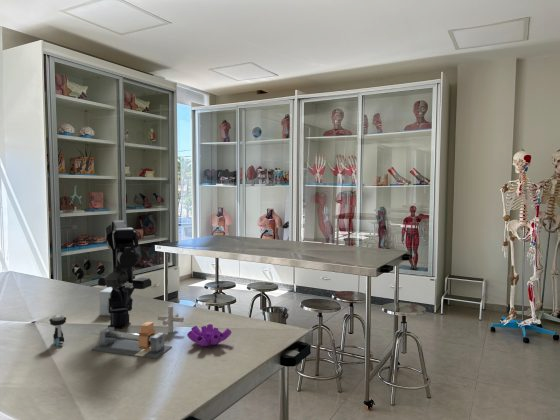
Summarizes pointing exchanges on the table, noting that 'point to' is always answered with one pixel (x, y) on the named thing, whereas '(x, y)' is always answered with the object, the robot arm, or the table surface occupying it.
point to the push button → (58, 329)
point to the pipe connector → (170, 319)
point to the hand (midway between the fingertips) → (125, 305)
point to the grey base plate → (130, 349)
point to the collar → (145, 335)
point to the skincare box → (104, 301)
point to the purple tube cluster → (208, 335)
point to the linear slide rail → (110, 334)
